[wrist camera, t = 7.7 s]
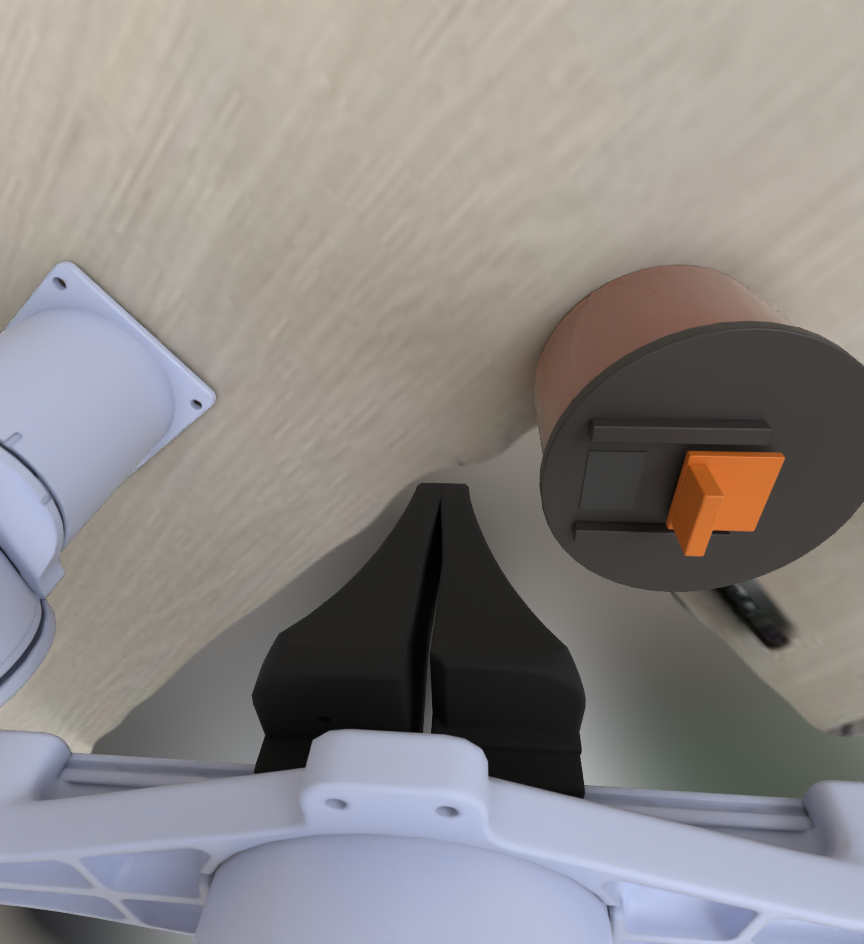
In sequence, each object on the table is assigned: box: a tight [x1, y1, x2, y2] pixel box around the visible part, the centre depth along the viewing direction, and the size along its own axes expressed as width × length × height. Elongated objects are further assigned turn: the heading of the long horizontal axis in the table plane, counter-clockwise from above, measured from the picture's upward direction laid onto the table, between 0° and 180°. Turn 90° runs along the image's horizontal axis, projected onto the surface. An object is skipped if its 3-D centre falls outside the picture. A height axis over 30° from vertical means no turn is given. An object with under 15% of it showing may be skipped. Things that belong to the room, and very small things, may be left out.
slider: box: [666, 451, 785, 556], centre depth 17 cm, size 3×3×2 cm
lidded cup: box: [534, 265, 864, 592], centre depth 21 cm, size 11×11×8 cm
